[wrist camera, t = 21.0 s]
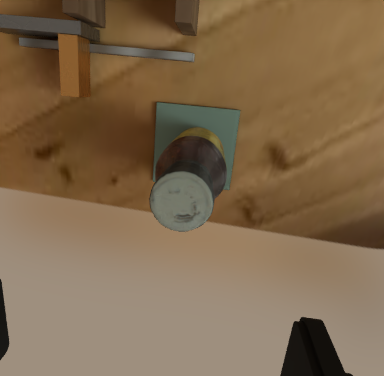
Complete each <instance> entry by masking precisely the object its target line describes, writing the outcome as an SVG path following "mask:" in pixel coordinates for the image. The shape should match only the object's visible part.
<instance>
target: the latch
mask: <svg viewBox="0 0 384 376" xmlns="http://www.w3.org/2000/svg"><path fill="white" fill-rule="evenodd" d="M0 32H3V33H7V34H16V35H27V36H38V37H49V38H58V43H59V64H60V84H61V96H72V97H90V46H89V41H94V42H100V34H99V30H97V29H95V28H93V27H91V26H89V25H87V24H85V23H83V22H81V21H73V20H61V19H50V18H38V17H27V16H15V15H3V14H0Z"/></svg>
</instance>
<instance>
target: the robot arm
mask: <svg viewBox="0 0 384 376" xmlns="http://www.w3.org/2000/svg"><path fill="white" fill-rule="evenodd" d="M8 347H9V336H8V329H7V321H6V313H5V306H4V298H3V290H2V282H1V279H0V360H1V359H2V357H3V356H4V355H5V353H6V352H7V350H8ZM280 376H353V375H352V374H349V373H345V371H344V369H343V367H342V364H341V362H340V360H339V357H338V355H337V353H336V351H335V348H334V346H333V343H332V341H331V339H330V336H329V334H328V332H327V330H326V327H325V325H324V323H323V321H322V320H319V319H312V318H306V317H301V319H300V321H299V322H297V321H295V322H294V323H293V327H292V331H291V335H290V339H289V343H288V347H287V351H286V355H285V359H284V363H283V367H282V371H281V375H280Z"/></svg>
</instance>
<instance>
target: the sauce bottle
mask: <svg viewBox="0 0 384 376" xmlns="http://www.w3.org/2000/svg"><path fill="white" fill-rule="evenodd" d="M226 179H227V166H226V161H225V155H224V150H223V146H222V143H221V141H220V139H219V138H218V137H217V136H216V135H215V134H214V133H213V132H211V131H210V130H208V129H205V128H200V127H195V128H190V129H187V130H185V131H184V132H182V133H181V134H180V135H179V136H178V137H176V138H175V139H174V140H173V141H172V142H171V143H170V144H169V145H168V146H167V147H166V148H165V150H164V151H163V153H162V154H161V155H160V157H159V159H158V161H157V164H156V167H155V181H156V182H155V184H154V185H153V187H152V190H151V194H150V199H149V200H150V208H151V211H152V213H153V214H154V216H155V218H156V219H157V220H158V221H159V223H161V224H162V225H163V226H165V227H167V228H169V229H171V230H175V231H179V232H185V231H189V230H193V229H195V228H198V227H200V226H201V225H203V224H204V223H205V222H206V221H207V220H208V218H209V217H210V215H211V213H212V211H213V206H214V199H215V198H216V197H217V196H218V195H219V194H220V193H221V192H222V190H223V188H224V186H225V183H226Z"/></svg>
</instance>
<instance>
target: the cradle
mask: <svg viewBox="0 0 384 376" xmlns="http://www.w3.org/2000/svg"><path fill="white" fill-rule="evenodd" d="M62 7H63V13H65V14H67V15H69V16H71V17H74V18H76V19H78V20H80V21H82V22H84V23H86V24H88V25H90V26H92V27H100V28H105V0H62ZM198 10H199V0H176V10H175V23H176V24H177V26H178V28H179V29H180V31H181V32H182V34H183V35H191V36H196V34H197V22H198ZM19 45H21V46H25V47H34V48H45V49H56V50H59V43H58V41H52V40H41V39H30V38H19ZM89 46H90V53H99V54H110V55H121V56H132V57H143V58H154V59H165V60H176V61H187V62H194V57H195V54H194V53H186V52H175V51H163V50H152V49H141V48H130V47H119V46H108V45H97V44H89Z"/></svg>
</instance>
